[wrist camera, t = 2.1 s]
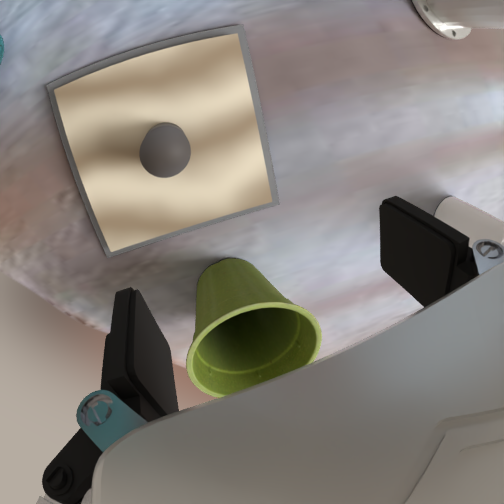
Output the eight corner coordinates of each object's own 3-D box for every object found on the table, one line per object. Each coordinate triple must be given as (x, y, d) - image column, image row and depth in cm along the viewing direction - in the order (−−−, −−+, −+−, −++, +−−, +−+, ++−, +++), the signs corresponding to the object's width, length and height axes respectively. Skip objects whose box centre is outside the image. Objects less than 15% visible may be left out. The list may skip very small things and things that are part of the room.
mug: (427, 239, 40) (485, 282, 30) (436, 194, 37) (502, 231, 27) (466, 232, 42) (519, 268, 32) (475, 193, 39) (533, 225, 29)
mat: (48, 85, 20) (46, 84, 20) (241, 25, 23) (243, 24, 22) (108, 255, 29) (107, 258, 29) (278, 202, 32) (279, 204, 31)
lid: (58, 90, 20) (31, 89, 15) (234, 35, 22) (253, 20, 17) (112, 246, 29) (103, 281, 23) (268, 197, 31) (291, 221, 25)
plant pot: (183, 333, 36) (195, 409, 27) (170, 244, 31) (176, 315, 21) (277, 318, 39) (312, 385, 30) (283, 232, 34) (332, 291, 24)
